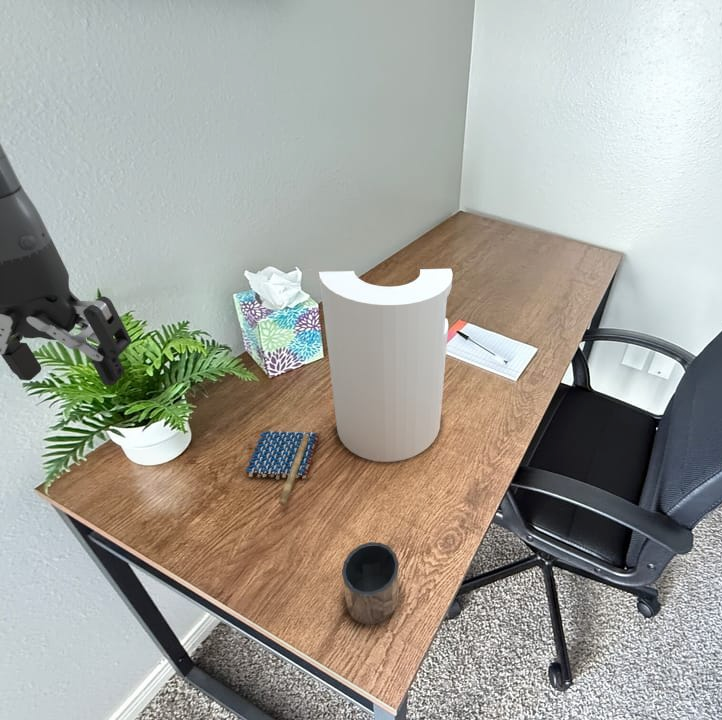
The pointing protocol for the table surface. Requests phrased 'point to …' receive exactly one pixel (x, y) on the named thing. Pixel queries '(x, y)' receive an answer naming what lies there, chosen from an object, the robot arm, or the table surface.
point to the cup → (371, 582)
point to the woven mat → (281, 454)
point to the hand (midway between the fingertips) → (73, 378)
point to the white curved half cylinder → (386, 361)
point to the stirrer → (294, 470)
